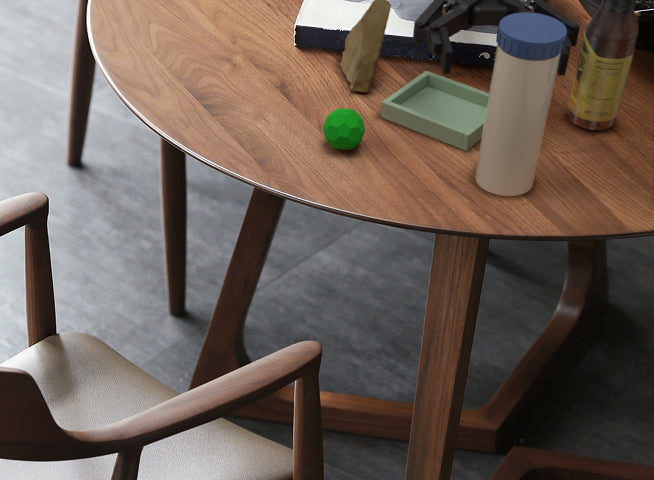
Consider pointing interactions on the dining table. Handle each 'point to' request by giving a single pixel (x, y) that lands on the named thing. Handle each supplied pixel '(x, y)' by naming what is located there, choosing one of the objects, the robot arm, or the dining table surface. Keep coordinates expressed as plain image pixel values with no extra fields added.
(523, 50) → the lid
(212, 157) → the dining table surface
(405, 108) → the tray
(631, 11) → the sauce bottle
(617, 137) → the dining table surface
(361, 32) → the rock
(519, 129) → the jar
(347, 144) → the polyhedron
